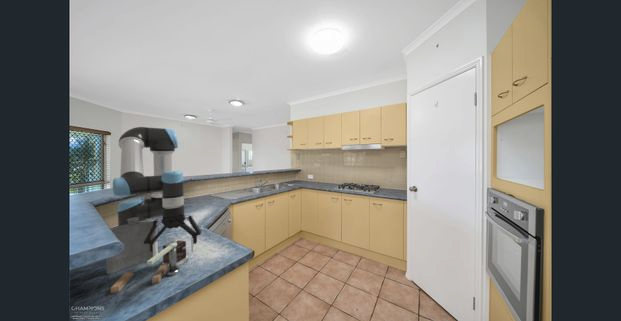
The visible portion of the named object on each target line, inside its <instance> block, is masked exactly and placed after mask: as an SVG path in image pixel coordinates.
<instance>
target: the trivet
mask: <svg viewBox="0 0 621 321" xmlns="http://www.w3.org/2000/svg"><path fill="white" fill-rule="evenodd" d="M186 261H188V255H187V254H186V258H184V259H182V260H180V261H179V262H177V267H178V266H180V265H182V264H184V263H186ZM162 264H165V263H164V262H163V261H162V263H161V265H162ZM168 269H169V263H168Z"/></svg>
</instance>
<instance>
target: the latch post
mask: <svg viewBox="0 0 621 321" xmlns="http://www.w3.org/2000/svg"><path fill="white" fill-rule="evenodd" d="M180 272H181V268H180V267H178V266H177V256H176V247H175V248H173V249H171V250H170V251H169V268H168V269H167V270H166V272H165V276H166V277H172V276H175V275H177V274H179V273H180Z"/></svg>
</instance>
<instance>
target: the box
mask: <svg viewBox="0 0 621 321" xmlns="http://www.w3.org/2000/svg"><path fill="white" fill-rule="evenodd" d="M174 242H177V247H176V256H177V262H179V261H180V260H182V259H184V258H186V255H187V243H186V242H187V241H186V240H185V241H184V240H178V239H176V240H173V241H171V242H168V243H166V244H164V245H162V250H163V249H165V248H166V247H167V246H168V244H170V243H174ZM162 262H164V263H169V251H168V252H167V253H166V254H165V255H163V256H162Z"/></svg>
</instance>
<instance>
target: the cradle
mask: <svg viewBox="0 0 621 321" xmlns="http://www.w3.org/2000/svg"><path fill="white" fill-rule="evenodd" d="M168 270H169V268H168V263H165V264H162V263H161V264H160V266H159V268H158V269H157V271H156V272H155V273H154V275H153V277H152V278H151V285H154V284H159V283H160V281H161V280H162V278H163V277H164V275H166V272H167V271H168ZM133 276H134V270H133V269H131V270H128V271H127V270H126V271H125V272H124V273H123V274H122V275H121V277H120V278H118V280H117V281H115V283H114V284H113V285H112V286H111V287H110V295H111V294H112V295H113V294H116V293H119V292H120V291H121V290H122V289H123V288H124V287H125V285H126V284H127V283H128V282H129V281H131V279H132V278H133Z"/></svg>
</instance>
